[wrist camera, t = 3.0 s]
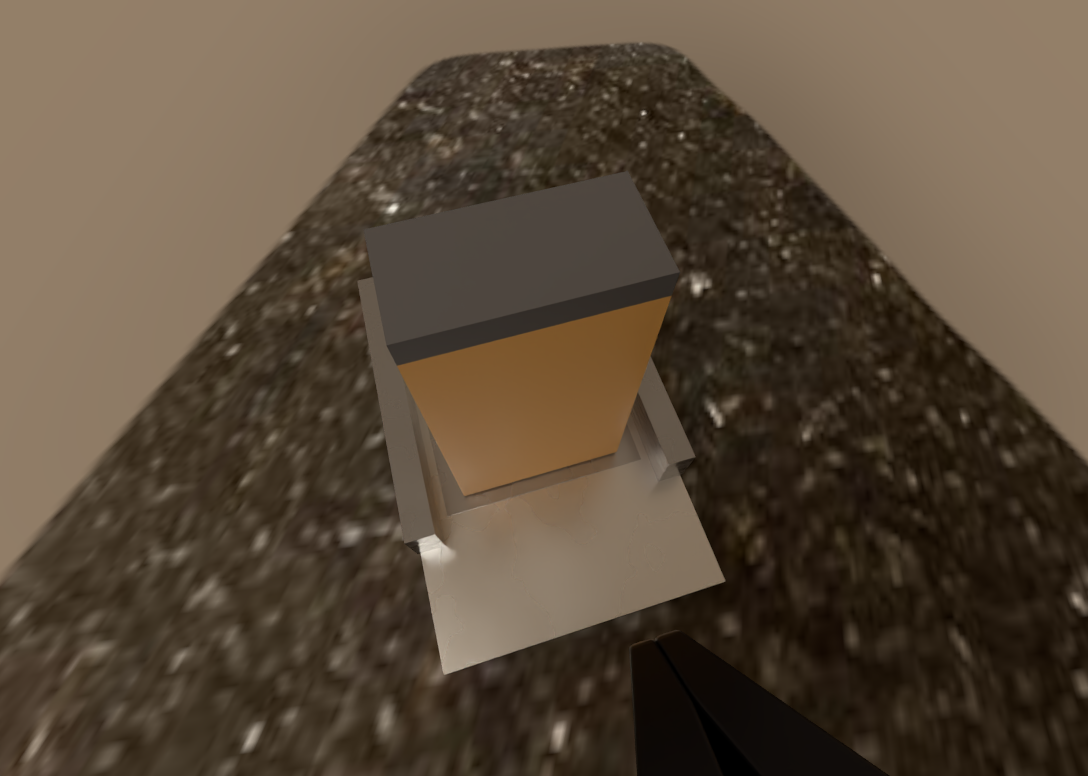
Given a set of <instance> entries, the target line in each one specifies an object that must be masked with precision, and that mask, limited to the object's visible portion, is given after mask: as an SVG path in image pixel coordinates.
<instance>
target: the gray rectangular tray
mask: <svg viewBox="0 0 1088 776" xmlns="http://www.w3.org/2000/svg"><path fill="white" fill-rule="evenodd" d="M358 287H359V293H360V298H361V304H362V309H363V315H364V320H365V326H366V332H367V337H368V343H369V348H370V354H371V359H372V365H373V371H374V376H375V382H376V387H377V393H378V399H379V404H380V410H381V415H382V421H383V426H384V432H385V438H386V443H387V449H388V454H389V460H390V465H391V471H392V477H393V482H394V488H395V493H396V499H397V505H398V510H399V516H400V521H401V527H402V532H403V538H404V544H406V545H407V546H408V547H410V548H411V549H412V550H413V551H415V552H416V553H417V554H419V553H421V558H422V563H423V569H424V574H425V579H426V584H427V590H428V595H429V600H430V605H431V611H432V616H433V621H434V626H435V632H436V637H437V642H438V647H439V652H440V658H441V663H442V668H443V673H444V675H446V674H450V673H453V672H456V671H459V670H462V669H465V668H468V667H471V666H474V665H477V664H480V663H483V662H486V661H489V660H492V659H495V658H498V657H501V656H504V655H507V654H510V653H513V652H516V651H519V650H522V649H525V648H528V647H531V646H534V645H537V644H540V643H543V642H546V641H549V640H552V639H555V638H558V637H561V636H564V635H567V634H570V633H573V632H576V631H579V630H582V629H585V628H588V627H591V626H594V625H597V624H600V623H603V622H606V621H609V620H612V619H615V618H618V617H621V616H624V615H627V614H630V613H633V612H636V611H639V610H642V609H645V608H648V607H651V606H654V605H657V604H660V603H663V602H666V601H669V600H672V599H675V598H678V597H681V596H684V595H687V594H690V593H693V592H696V591H699V590H702V589H705V588H708V587H711V586H714V585H717V584H720V583H723V582H725V579H724V577H723V574H722V572H721V570H720V567H719V565H718V563H717V560H716V558H715V556H714V553H713V551H712V549H711V546H710V544H709V542H708V539H707V537H706V535H705V532H704V530H703V528H702V525H701V523H700V521H699V518H698V516H697V514H696V511H695V509H694V506H693V504H692V502H691V499H690V497H689V495H688V492H687V490H686V488H685V485H684V483H683V481H682V478H681V476H680V475H681V474H683V473H684V471H685V470H686V469H687V467H688V466H689V465H690V464H691V462H692V461H693V460H694V458H695V454H694V452H693V450H692V448H691V445H690V443H689V441H688V439H687V436H686V434H685V432H684V430H683V428H682V425H681V423H680V421H679V419H678V416H677V414H676V412H675V410H674V407H673V405H672V403H671V401H670V399H669V396H668V394H667V392H666V390H665V387H664V385H663V383H662V381H661V378H660V376H659V374H658V372H657V370H656V367H655V365H654V363H653V361H652V358H651V356H650V359H649V361H648V364H647V367H646V370H645V373H644V376H643V379H642V381H641V384H640V387H639V390H638V393H637V396H636V398H635V401H634V404H633V407H632V410H631V413H630V416H629V418H628V421H627V424H626V427H625V430H624V433H623V435H622V438H621V441H620V444H619V447H618V450H617V452H615V453H611V454H608V455H604V456H601V457H598V458H594V459H591V460H587V461H584V462H580V463H577V464H573V465H570V466H567V467H563V468H560V469H556V470H553V471H549V472H546V473H543V474H539V475H536V476H532V477H529V478H525V479H522V480H519V481H515V482H512V483H508V484H505V485H501V486H498V487H494V488H491V489H488V490H484V491H481V492H477V493H474V494H470V495H467V496H464V495H463V493H462V491H461V489H460V487H459V485H458V483H457V481H456V479H455V478H454V476H453V474H452V472H451V470H450V468H449V466H448V464H447V462H446V460H445V458H444V456H443V454H442V452H441V450H440V448H439V447H438V445H437V443H436V441H435V439H434V437H433V435H432V433H431V431H430V429H429V427H428V425H427V423H426V421H425V419H424V417H423V416H422V414H421V412H420V410H419V408H418V406H417V404H416V402H415V400H414V398H413V396H412V394H411V392H410V390H409V388H408V386H407V385H406V383H405V381H404V379H403V377H402V375H401V373H400V371H399V369H398V367H397V365H396V363H395V361H394V359H393V357H392V355H391V354H390V352H389V350H388V348H387V346H386V341H385V336H384V331H383V326H382V321H381V316H380V311H379V306H378V301H377V295H376V290H375V285H374V280H373V277H372V278H368V279H364V280H359V281H358Z"/></svg>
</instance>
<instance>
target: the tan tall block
mask: <svg viewBox="0 0 1088 776" xmlns="http://www.w3.org/2000/svg"><path fill="white" fill-rule="evenodd" d="M364 234H365V239H366V244H367V250H368V255H369V260H370V265H371V270H372V275H373V280H374V285H375V290H376V295H377V301H378V306H379V311H380V316H381V321H382V326H383V331H384V336H385V341H386V346H387V348H388V350H389V352H390V354H391V355H392V357H393V359H394V361H395V363H396V365H397V367H398V369H399V371H400V373H401V375H402V377H403V379H404V381H405V383H406V385H407V386H408V388H409V390H410V392H411V394H412V396H413V398H414V400H415V402H416V404H417V406H418V408H419V410H420V412H421V414H422V416H423V417H424V419H425V421H426V423H427V425H428V427H429V429H430V431H431V433H432V435H433V437H434V439H435V441H436V443H437V445H438V447H439V448H440V450H441V452H442V454H443V456H444V458H445V460H446V462H447V464H448V466H449V468H450V470H451V472H452V474H453V476H454V478H455V479H456V481H457V483H458V485H459V487H460V489H461V491H462V493H463V495H464V496H467V495H470V494H474V493H477V492H481V491H484V490H488V489H491V488H494V487H498V486H501V485H505V484H508V483H512V482H515V481H519V480H522V479H525V478H529V477H532V476H536V475H539V474H543V473H546V472H549V471H553V470H556V469H560V468H563V467H567V466H570V465H573V464H577V463H580V462H584V461H587V460H591V459H594V458H598V457H601V456H604V455H608V454H611V453H615V452H617V450H618V447H619V444H620V441H621V438H622V435H623V433H624V430H625V427H626V424H627V421H628V418H629V416H630V413H631V410H632V407H633V404H634V401H635V398H636V396H637V393H638V390H639V387H640V384H641V381H642V379H643V376H644V373H645V370H646V367H647V364H648V361H649V359H650V356H651V353H652V350H653V347H654V344H655V342H656V339H657V336H658V333H659V330H660V327H661V324H662V322H663V319H664V316H665V313H666V310H667V307H668V305H669V302H670V299H671V296H672V293H673V290H674V287H675V285H676V282H677V279H678V276H679V273H680V271H679V269H678V267H677V265H676V264H675V262H674V260H673V258H672V256H671V254H670V252H669V250H668V248H667V246H666V244H665V242H664V240H663V238H662V237H661V235H660V233H659V231H658V229H657V227H656V225H655V223H654V221H653V219H652V217H651V215H650V213H649V211H648V210H647V208H646V206H645V204H644V202H643V200H642V198H641V196H640V194H639V192H638V190H637V188H636V186H635V184H634V183H633V181H632V179H631V177H630V175H629V173H628V171H626V172H622V173H617V174H613V175H608V176H604V177H599V178H595V179H590V180H586V181H581V182H577V183H572V184H567V185H563V186H558V187H554V188H549V189H545V190H540V191H536V192H531V193H527V194H522V195H518V196H513V197H509V198H504V199H500V200H495V201H491V202H486V203H482V204H477V205H473V206H468V207H464V208H459V209H455V210H450V211H445V212H441V213H436V214H432V215H427V216H423V217H418V218H414V219H409V220H405V221H400V222H396V223H391V224H387V225H382V226H378V227H373V228H369V229H364Z"/></svg>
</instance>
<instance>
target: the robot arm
mask: <svg viewBox="0 0 1088 776" xmlns="http://www.w3.org/2000/svg"><path fill="white" fill-rule="evenodd" d="M629 653H630V669H631V685H632V701H633V717H634V733H635V749H636V764H637V776H889V775H888V774H886V773H885V772H883V771H882V770H880V769H879V768H878V767H876V766H875V765H873V764H872V763H870V762H869V761H868V760H866V759H865V758H863V757H862V756H860V755H859V754H857V753H856V752H855V751H853V750H852V749H850V748H849V747H847V746H846V745H844V744H843V743H842V742H840V741H839V740H837V739H836V738H834V737H833V736H832V735H830V734H829V733H827V732H826V731H824V730H823V729H821V728H820V727H819V726H817V725H816V724H814V723H813V722H811V721H810V720H808V719H807V718H806V717H804V716H803V715H801V714H800V713H798V712H797V711H796V710H794V709H793V708H791V707H790V706H788V705H787V704H785V703H784V702H783V701H781V700H780V699H778V698H777V697H775V696H774V695H772V694H771V693H770V692H768V691H767V690H765V689H764V688H762V687H761V686H760V685H758V684H757V683H755V682H754V681H752V680H751V679H749V678H748V677H747V676H745V675H744V674H742V673H741V672H739V671H738V670H736V669H735V668H734V667H732V666H731V665H729V664H728V663H726V662H725V661H724V660H722V659H721V658H719V657H718V656H716V655H715V654H713V653H712V652H711V651H709V650H708V649H706V648H705V647H703V646H702V645H700V644H699V643H698V642H696V641H695V640H693V639H692V638H690V637H689V636H688V635H686V634H685V633H683V632H682V631H679V630H674V631H671V632H668V633H665V634H662V635H659V636H657V637H656V638H655V641H654V640H653V639H647V640H644V641H641V642H638V643H635V644H633V645H631V646H630V649H629Z"/></svg>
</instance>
